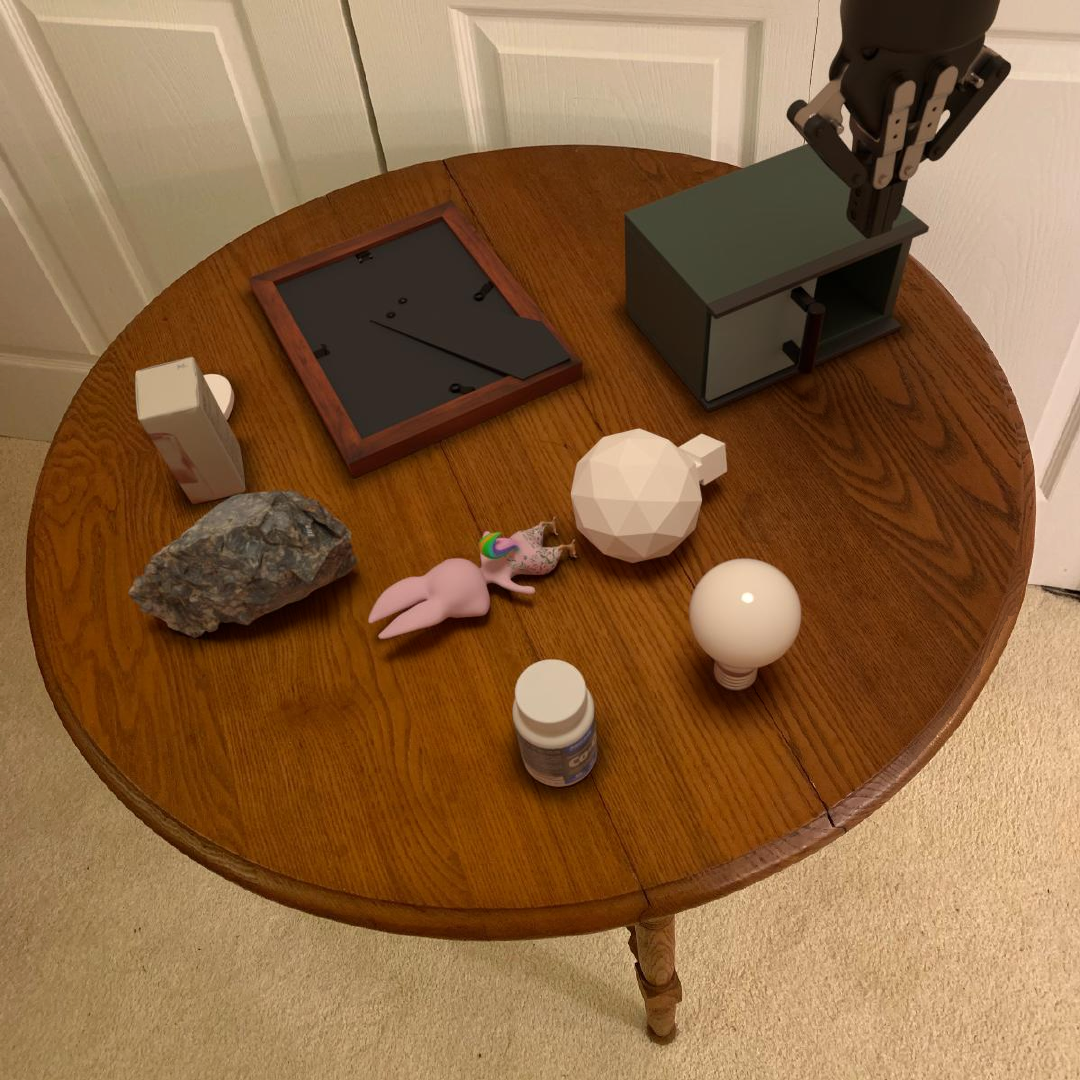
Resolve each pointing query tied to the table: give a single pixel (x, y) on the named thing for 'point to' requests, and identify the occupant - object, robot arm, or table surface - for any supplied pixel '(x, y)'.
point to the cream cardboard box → (189, 430)
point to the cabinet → (759, 262)
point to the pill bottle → (555, 723)
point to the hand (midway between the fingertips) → (870, 227)
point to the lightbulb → (744, 618)
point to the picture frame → (411, 335)
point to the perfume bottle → (643, 492)
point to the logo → (221, 392)
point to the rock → (244, 562)
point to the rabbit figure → (467, 581)
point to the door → (764, 339)
